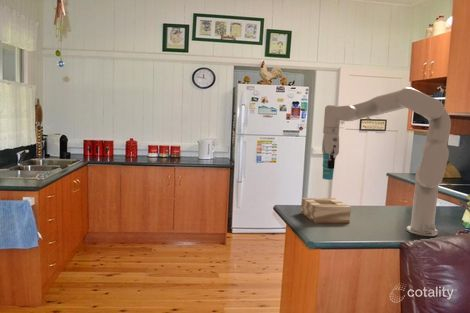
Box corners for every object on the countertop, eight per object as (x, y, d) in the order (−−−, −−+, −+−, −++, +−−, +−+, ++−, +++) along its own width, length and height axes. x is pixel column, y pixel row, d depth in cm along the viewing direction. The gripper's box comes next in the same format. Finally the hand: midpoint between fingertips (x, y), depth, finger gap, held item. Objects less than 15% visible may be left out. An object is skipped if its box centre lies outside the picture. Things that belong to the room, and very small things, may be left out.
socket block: (349, 223, 183) (350, 206, 182) (314, 223, 180) (315, 206, 179) (333, 213, 201) (334, 198, 200) (300, 213, 197) (302, 198, 196)
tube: (318, 178, 188) (321, 140, 185) (321, 177, 192) (324, 139, 189) (333, 180, 184) (336, 141, 182) (336, 179, 188) (339, 140, 186)
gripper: (346, 132, 177) (343, 170, 180) (330, 130, 194) (328, 165, 196) (331, 131, 176) (328, 170, 178) (316, 129, 193) (314, 164, 195)
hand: (328, 167), depth 187 cm, fingers closed on tube, 5 cm apart
